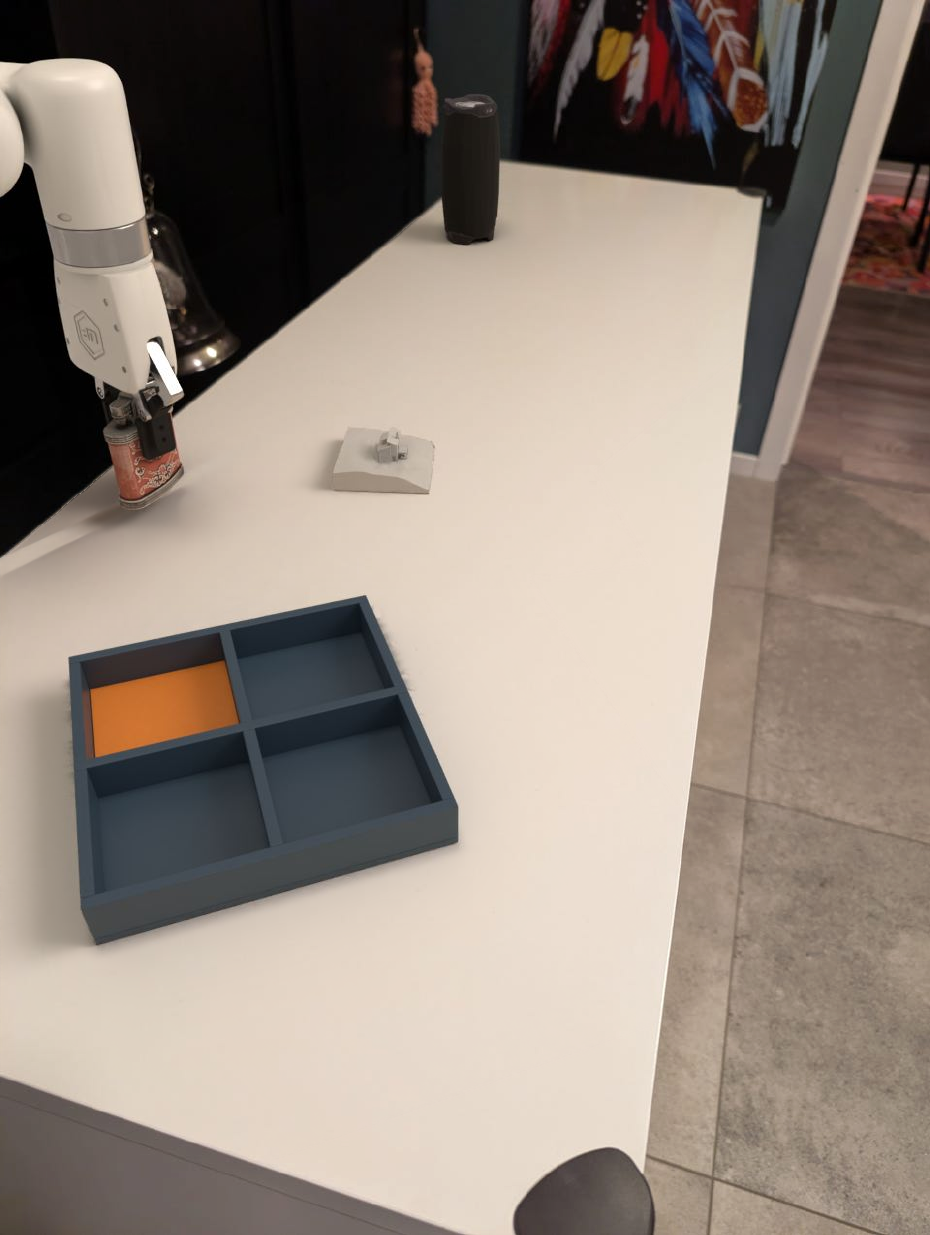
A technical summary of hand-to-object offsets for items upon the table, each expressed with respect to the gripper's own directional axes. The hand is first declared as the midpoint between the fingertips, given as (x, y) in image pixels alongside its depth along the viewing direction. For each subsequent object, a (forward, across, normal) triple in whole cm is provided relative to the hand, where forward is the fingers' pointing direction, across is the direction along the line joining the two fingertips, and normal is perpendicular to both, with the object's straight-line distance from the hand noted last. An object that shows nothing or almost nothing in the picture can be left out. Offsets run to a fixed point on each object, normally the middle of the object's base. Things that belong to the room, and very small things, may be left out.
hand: (143, 442), depth 88 cm
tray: (+7, +32, -15) cm, 36 cm away
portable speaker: (+6, -28, +79) cm, 84 cm away
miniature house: (+6, +11, +20) cm, 24 cm away
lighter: (+5, 0, 0) cm, 5 cm away
